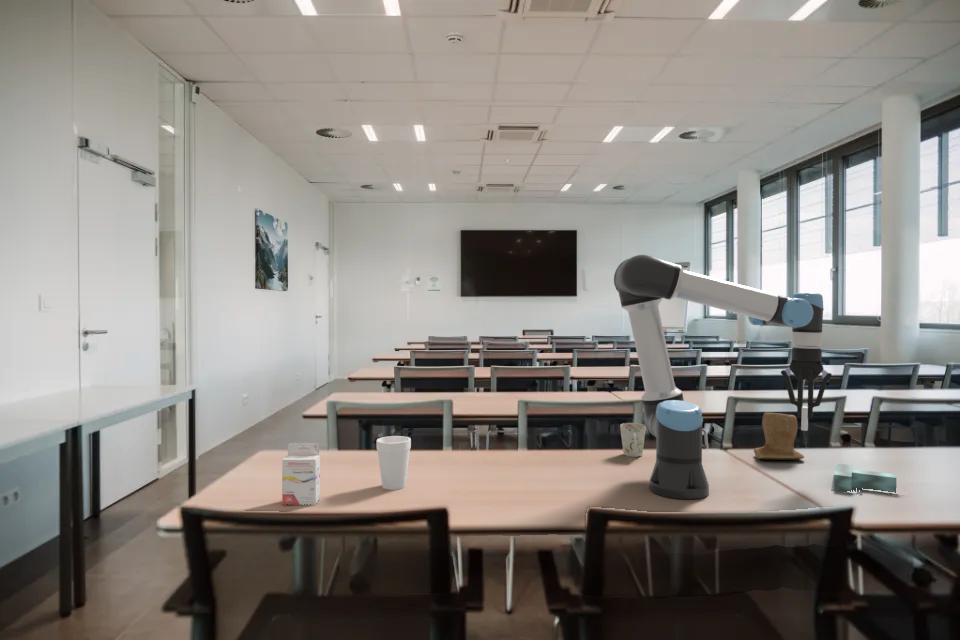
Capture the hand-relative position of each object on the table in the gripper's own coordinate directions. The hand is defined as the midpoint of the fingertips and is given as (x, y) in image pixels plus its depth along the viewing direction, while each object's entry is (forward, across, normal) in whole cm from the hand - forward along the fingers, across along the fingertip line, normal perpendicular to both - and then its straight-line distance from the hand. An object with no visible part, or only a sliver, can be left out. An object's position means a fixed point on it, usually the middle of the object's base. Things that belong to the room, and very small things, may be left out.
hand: (804, 429), depth 169 cm
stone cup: (+14, +9, -22) cm, 28 cm away
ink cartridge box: (+17, +106, +90) cm, 140 cm away
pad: (+14, -16, 0) cm, 21 cm away
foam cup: (+17, +95, +67) cm, 117 cm away
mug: (+15, +49, 0) cm, 52 cm away
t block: (+14, -15, 0) cm, 20 cm away
